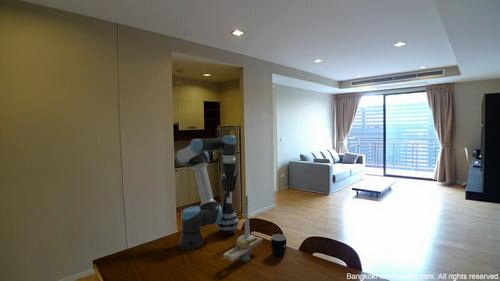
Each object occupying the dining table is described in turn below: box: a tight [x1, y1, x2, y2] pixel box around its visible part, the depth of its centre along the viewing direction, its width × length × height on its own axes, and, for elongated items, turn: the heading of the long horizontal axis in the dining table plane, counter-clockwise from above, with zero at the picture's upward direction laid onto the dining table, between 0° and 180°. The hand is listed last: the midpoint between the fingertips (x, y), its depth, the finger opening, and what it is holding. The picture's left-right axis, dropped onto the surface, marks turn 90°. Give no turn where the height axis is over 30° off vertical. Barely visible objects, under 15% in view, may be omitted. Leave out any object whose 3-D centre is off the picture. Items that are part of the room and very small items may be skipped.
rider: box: [235, 238, 250, 249], centre depth 144 cm, size 6×5×5 cm
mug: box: [270, 233, 287, 258], centre depth 152 cm, size 12×9×10 cm
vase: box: [215, 191, 240, 235], centre depth 184 cm, size 16×16×30 cm
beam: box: [222, 235, 264, 264], centre depth 145 cm, size 6×28×8 cm, turn 143°
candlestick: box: [236, 195, 255, 241], centre depth 171 cm, size 13×13×30 cm
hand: (229, 202), depth 150 cm, fingers closed
